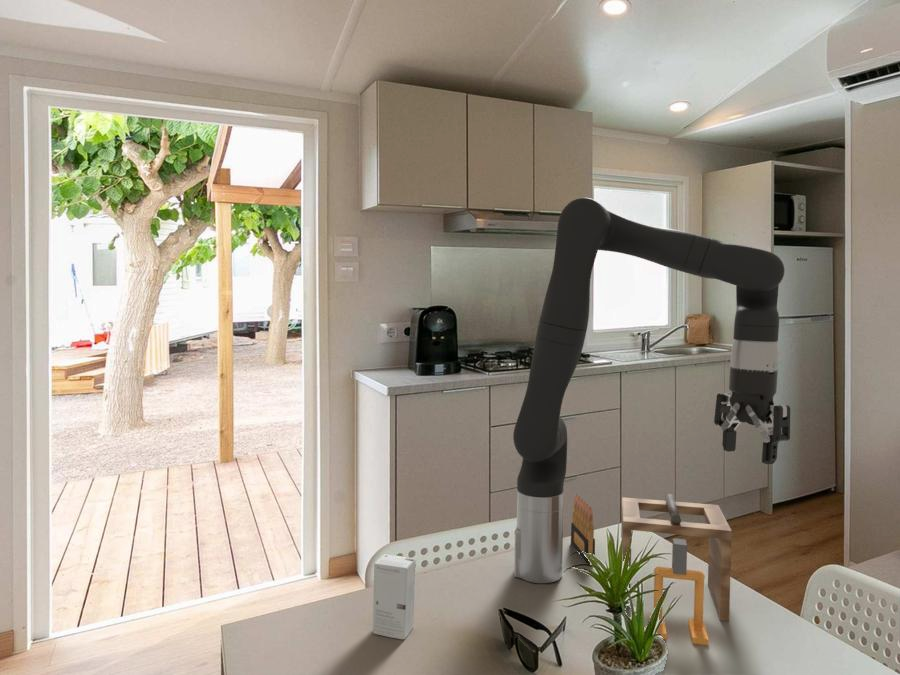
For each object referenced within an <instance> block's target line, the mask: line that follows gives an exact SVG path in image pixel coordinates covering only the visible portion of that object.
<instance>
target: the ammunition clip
mask: <svg viewBox="0 0 900 675" xmlns="http://www.w3.org/2000/svg"><path fill="white" fill-rule="evenodd" d="M573 500H574V501H573V508H572V509H573V511H572V522H571V527H570V545H571V546H572V548H575V549H576V550H577V551H578V552H580V555H579V556H580V558H581V559H582V560H583V561H584V562H585V563H586V564H590V563H589V561H588V559H587V558H586V557H585V556H584V554H583V553H581V552H582V551H584V552H586V553H592V554H594V555H595V556H596V539H595V536H594V534H595V533H594V532H595V531H594V530H595V527H594V515H593V508H592V506H589V503H587V502H586V501H585V500H584V499H583V498H581V497H580V495H579V494H578V493H576V494H575V495H574V499H573ZM575 549H574V550H575ZM576 550H575V551H576ZM577 551H576V552H577ZM578 552H577V553H578Z"/></svg>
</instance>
